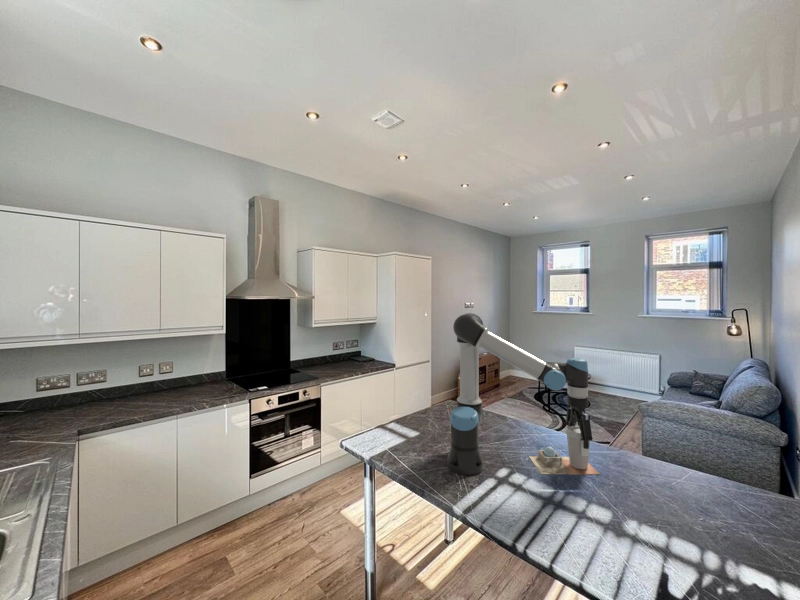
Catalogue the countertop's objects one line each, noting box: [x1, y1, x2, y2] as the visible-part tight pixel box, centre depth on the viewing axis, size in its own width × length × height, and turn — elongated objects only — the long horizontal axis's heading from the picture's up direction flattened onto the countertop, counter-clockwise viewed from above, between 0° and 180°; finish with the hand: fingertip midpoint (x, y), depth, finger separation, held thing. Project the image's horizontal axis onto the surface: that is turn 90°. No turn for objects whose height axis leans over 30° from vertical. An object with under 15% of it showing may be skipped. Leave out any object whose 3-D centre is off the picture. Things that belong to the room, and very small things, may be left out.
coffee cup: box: [564, 425, 591, 469], centre depth 130 cm, size 10×10×15 cm
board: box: [528, 449, 601, 476], centre depth 132 cm, size 23×14×4 cm, turn 87°
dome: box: [543, 446, 556, 457], centre depth 135 cm, size 4×4×5 cm
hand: (578, 449), depth 130 cm, fingers closed on coffee cup, 9 cm apart
